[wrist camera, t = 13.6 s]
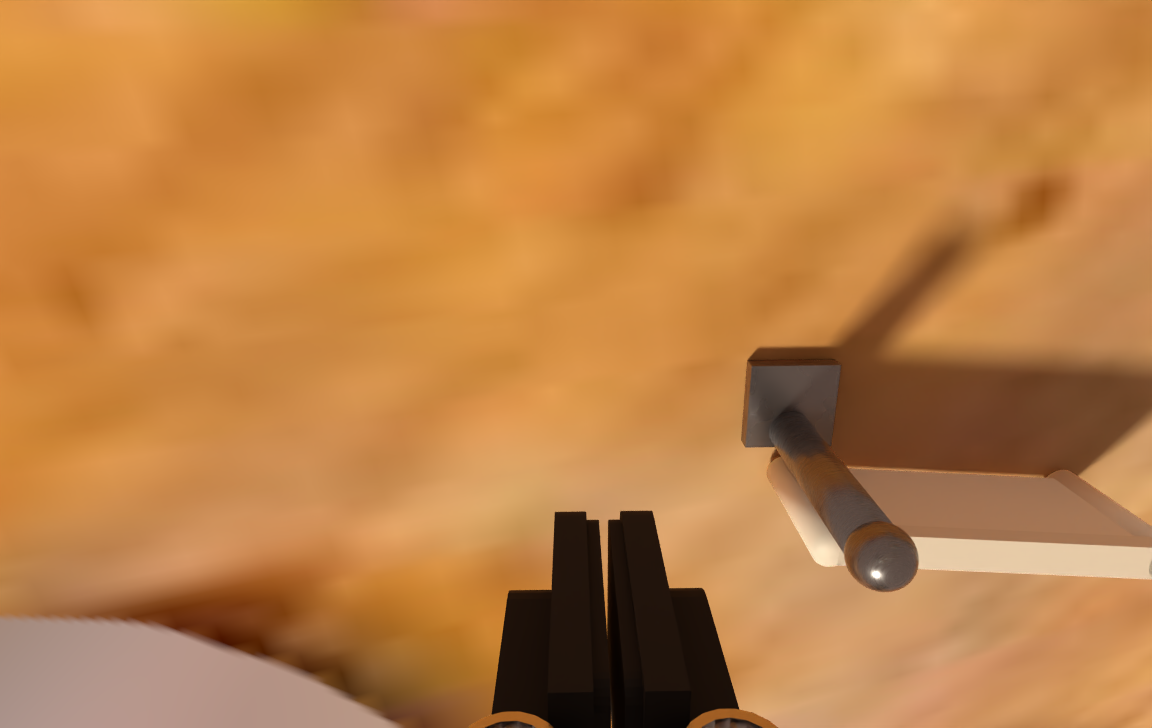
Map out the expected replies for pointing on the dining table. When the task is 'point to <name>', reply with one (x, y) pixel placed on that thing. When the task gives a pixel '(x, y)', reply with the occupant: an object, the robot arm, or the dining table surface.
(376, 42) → the dining table surface
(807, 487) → the gate post
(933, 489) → the gate leaf
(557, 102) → the dining table surface
